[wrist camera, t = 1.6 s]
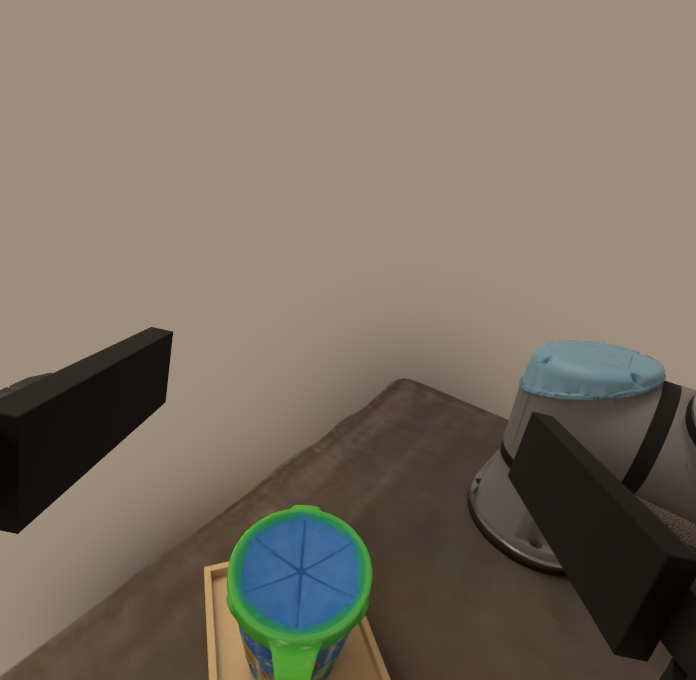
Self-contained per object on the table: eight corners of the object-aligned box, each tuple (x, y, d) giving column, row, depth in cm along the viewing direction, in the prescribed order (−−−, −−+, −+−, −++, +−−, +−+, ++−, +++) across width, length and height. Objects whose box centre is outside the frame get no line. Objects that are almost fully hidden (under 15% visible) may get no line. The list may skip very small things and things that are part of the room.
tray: (334, 545, 43) (335, 537, 43) (410, 748, 29) (413, 739, 28) (204, 576, 38) (203, 566, 38) (216, 839, 24) (215, 829, 23)
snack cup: (349, 791, 26) (371, 704, 22) (189, 765, 26) (183, 674, 22) (359, 571, 40) (374, 494, 36) (256, 555, 41) (260, 477, 37)
